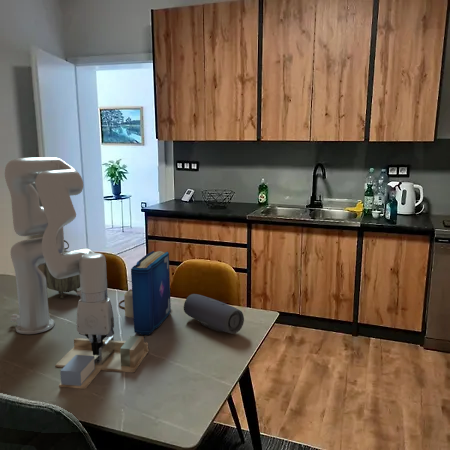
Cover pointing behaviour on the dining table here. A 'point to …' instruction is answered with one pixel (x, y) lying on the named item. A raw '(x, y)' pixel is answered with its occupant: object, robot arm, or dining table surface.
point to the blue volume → (150, 292)
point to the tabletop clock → (62, 281)
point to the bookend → (105, 351)
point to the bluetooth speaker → (214, 313)
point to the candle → (128, 304)
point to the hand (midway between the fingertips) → (97, 353)
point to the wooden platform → (118, 361)
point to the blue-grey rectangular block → (77, 370)
